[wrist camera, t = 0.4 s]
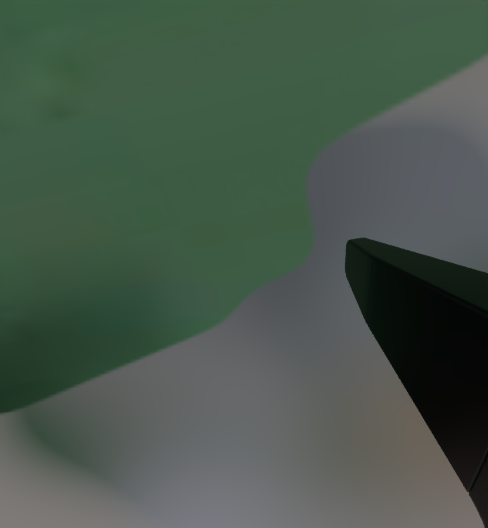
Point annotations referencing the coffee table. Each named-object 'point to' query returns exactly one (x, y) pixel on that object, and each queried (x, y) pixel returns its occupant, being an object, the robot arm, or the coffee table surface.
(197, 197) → the coffee table surface
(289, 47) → the coffee table surface
